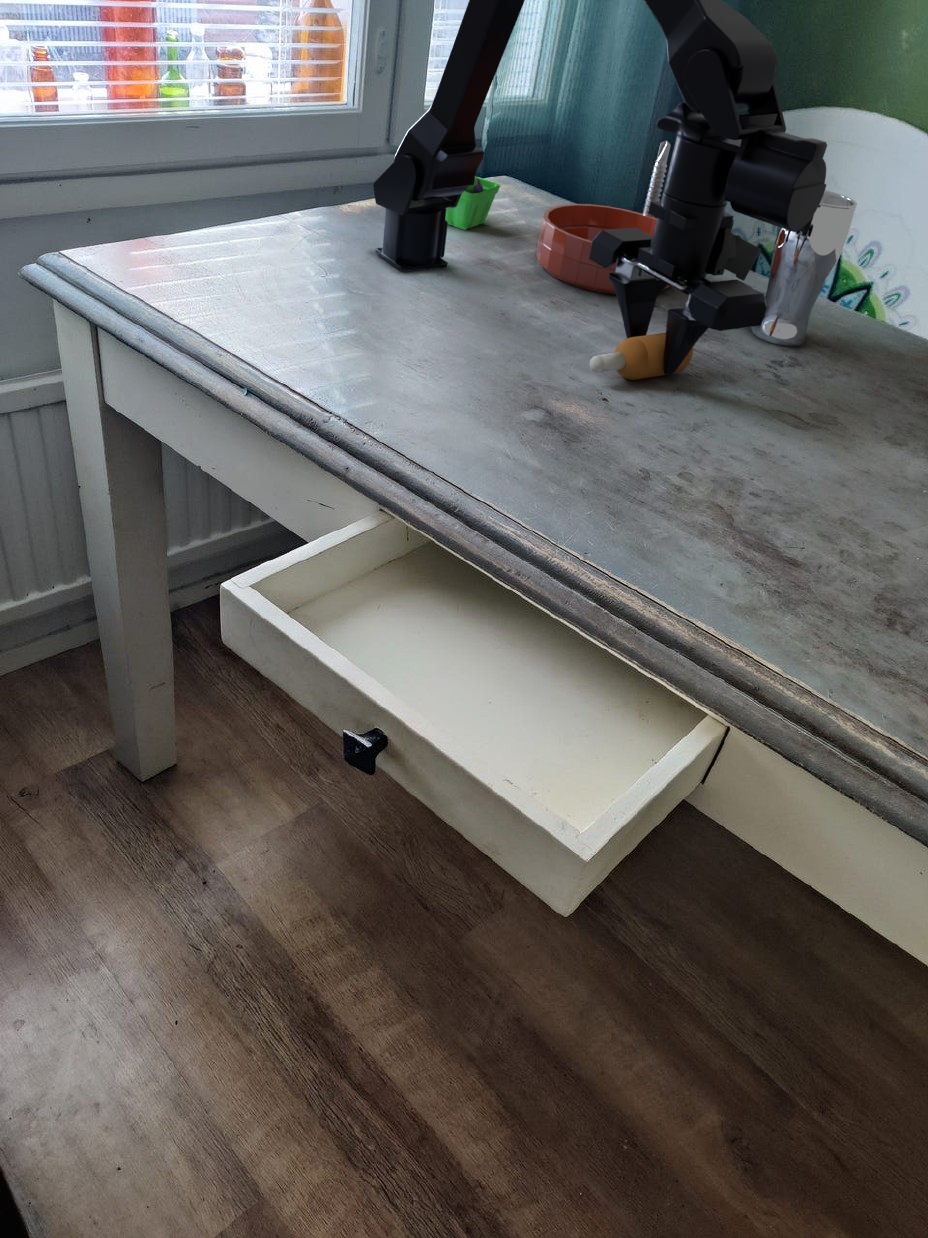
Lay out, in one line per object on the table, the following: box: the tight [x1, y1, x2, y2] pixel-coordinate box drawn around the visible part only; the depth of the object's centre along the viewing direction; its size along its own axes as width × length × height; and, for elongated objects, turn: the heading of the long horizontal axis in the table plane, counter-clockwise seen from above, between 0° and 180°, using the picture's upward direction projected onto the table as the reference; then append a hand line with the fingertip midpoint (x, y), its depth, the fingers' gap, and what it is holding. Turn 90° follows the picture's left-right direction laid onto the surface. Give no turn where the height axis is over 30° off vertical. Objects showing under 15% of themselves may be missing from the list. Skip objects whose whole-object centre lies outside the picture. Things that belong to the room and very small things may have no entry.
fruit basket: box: [445, 175, 501, 231], centre depth 123 cm, size 11×9×11 cm
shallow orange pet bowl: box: [535, 203, 671, 295], centre depth 116 cm, size 17×17×6 cm
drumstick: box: [589, 332, 694, 381], centre depth 93 cm, size 12×4×4 cm, turn 122°
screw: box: [641, 139, 671, 218], centre depth 125 cm, size 13×5×5 cm
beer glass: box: [750, 189, 858, 347], centre depth 104 cm, size 7×7×15 cm
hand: (651, 362), depth 94 cm, fingers open, 5 cm apart
